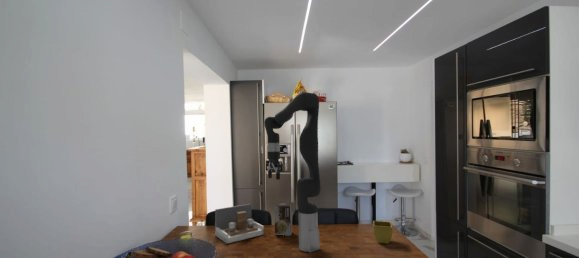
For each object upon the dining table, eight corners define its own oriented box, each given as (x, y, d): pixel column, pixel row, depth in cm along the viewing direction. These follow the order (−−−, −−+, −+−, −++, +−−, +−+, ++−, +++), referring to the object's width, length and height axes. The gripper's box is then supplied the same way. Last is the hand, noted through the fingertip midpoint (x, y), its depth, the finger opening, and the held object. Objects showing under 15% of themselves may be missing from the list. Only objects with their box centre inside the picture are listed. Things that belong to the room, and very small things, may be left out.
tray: (257, 229, 143) (257, 211, 144) (230, 236, 134) (230, 216, 135) (251, 226, 150) (251, 208, 150) (224, 232, 140) (224, 213, 141)
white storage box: (263, 234, 143) (263, 208, 144) (226, 243, 130) (226, 215, 131) (250, 227, 156) (250, 203, 157) (215, 234, 143) (215, 209, 144)
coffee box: (292, 232, 147) (291, 203, 148) (290, 236, 140) (290, 205, 141) (276, 231, 147) (275, 203, 148) (274, 235, 141) (274, 205, 142)
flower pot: (391, 239, 133) (390, 221, 134) (393, 245, 125) (392, 227, 125) (373, 238, 136) (373, 220, 136) (374, 244, 127) (373, 225, 128)
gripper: (285, 150, 147) (286, 179, 146) (272, 150, 158) (272, 177, 157) (274, 151, 142) (275, 180, 141) (261, 150, 154) (262, 178, 153)
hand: (273, 178), depth 149 cm, fingers open, 8 cm apart
